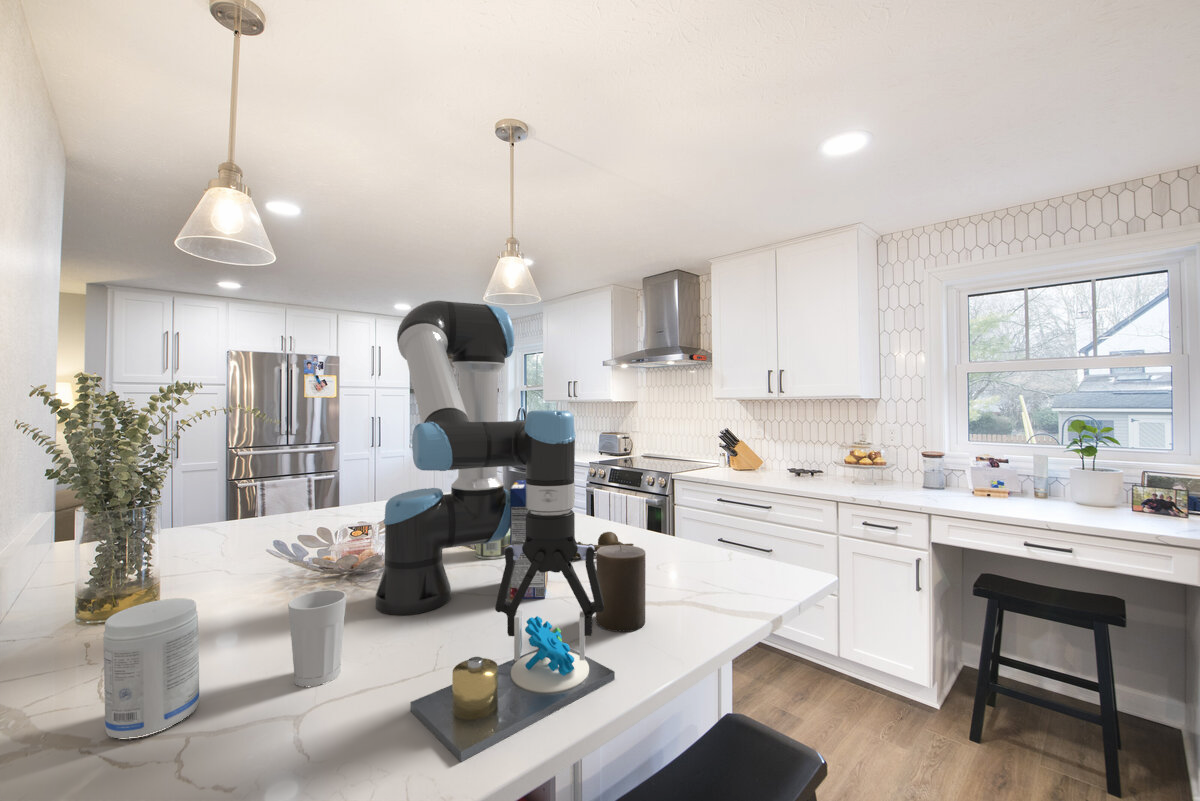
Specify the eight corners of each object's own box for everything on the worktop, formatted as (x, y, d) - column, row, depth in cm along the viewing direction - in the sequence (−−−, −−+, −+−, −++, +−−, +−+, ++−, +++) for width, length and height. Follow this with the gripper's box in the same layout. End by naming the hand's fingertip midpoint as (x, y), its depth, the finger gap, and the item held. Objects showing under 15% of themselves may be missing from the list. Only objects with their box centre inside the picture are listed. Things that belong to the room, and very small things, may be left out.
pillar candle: (632, 636, 93) (633, 553, 93) (586, 625, 98) (586, 546, 98) (653, 617, 101) (654, 541, 101) (610, 607, 106) (610, 535, 106)
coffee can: (505, 547, 151) (504, 499, 151) (517, 556, 142) (517, 505, 142) (470, 552, 145) (470, 502, 145) (481, 562, 136) (481, 509, 137)
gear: (568, 679, 72) (523, 622, 75) (539, 707, 72) (494, 650, 75) (584, 653, 83) (544, 605, 85) (558, 678, 83) (519, 629, 86)
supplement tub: (192, 691, 75) (193, 591, 75) (205, 718, 69) (206, 609, 69) (100, 721, 68) (101, 611, 68) (105, 755, 62) (106, 633, 62)
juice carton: (516, 580, 122) (516, 480, 122) (547, 579, 123) (547, 479, 123) (510, 599, 110) (510, 488, 110) (544, 599, 111) (544, 488, 111)
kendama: (560, 556, 143) (629, 549, 148) (566, 568, 134) (639, 560, 138) (560, 535, 143) (628, 529, 147) (565, 546, 133) (638, 538, 138)
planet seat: (504, 693, 73) (504, 690, 73) (517, 651, 85) (517, 650, 85) (588, 693, 73) (588, 690, 73) (589, 651, 85) (589, 650, 85)
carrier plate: (460, 762, 60) (460, 699, 60) (410, 710, 70) (410, 657, 71) (614, 679, 78) (614, 631, 78) (557, 647, 89) (556, 605, 89)
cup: (333, 658, 85) (333, 585, 85) (355, 674, 80) (355, 597, 80) (279, 678, 79) (279, 600, 79) (300, 696, 74) (300, 613, 74)
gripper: (473, 515, 75) (473, 668, 75) (622, 515, 75) (622, 668, 75) (484, 505, 83) (484, 644, 82) (620, 505, 83) (620, 644, 82)
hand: (550, 655), depth 79 cm, fingers open, 9 cm apart
